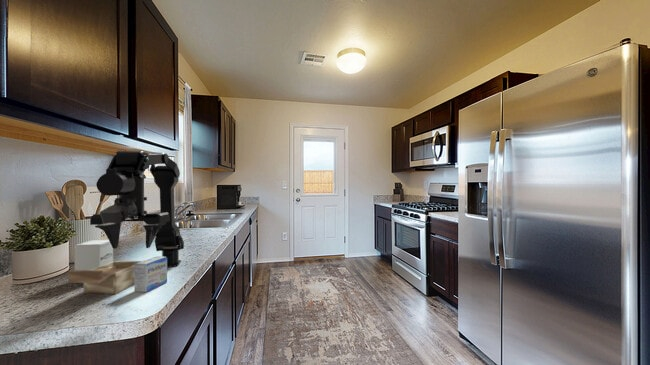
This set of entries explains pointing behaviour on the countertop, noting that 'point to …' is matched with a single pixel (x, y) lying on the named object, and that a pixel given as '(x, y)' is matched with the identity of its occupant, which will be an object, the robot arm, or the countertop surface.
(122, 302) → the countertop surface
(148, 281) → the medicine box
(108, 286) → the birch box
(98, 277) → the lid
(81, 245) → the supplement box
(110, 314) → the countertop surface
